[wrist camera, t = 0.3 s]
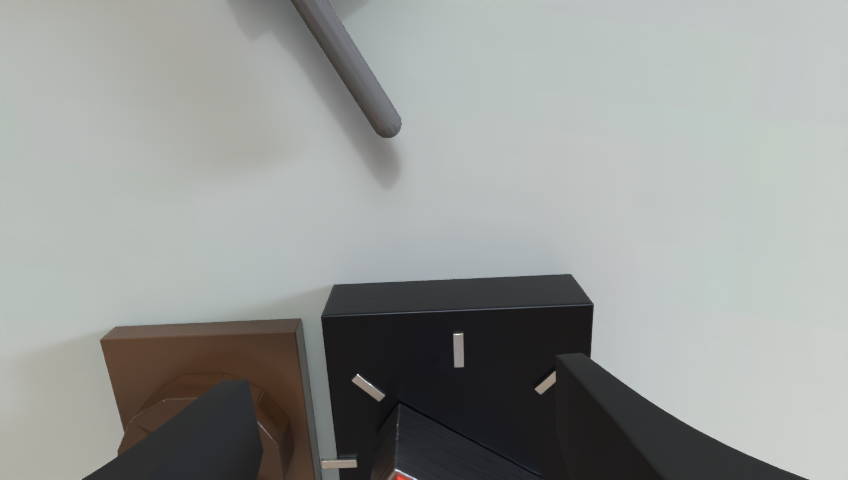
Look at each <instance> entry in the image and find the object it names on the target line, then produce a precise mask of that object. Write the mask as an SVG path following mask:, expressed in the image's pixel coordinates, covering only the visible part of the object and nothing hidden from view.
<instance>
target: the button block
mask: <svg viewBox="0 0 848 480" xmlns="http://www.w3.org/2000/svg"><path fill="white" fill-rule="evenodd" d="M100 342H101V346H102V350H103V354H104V357H105V361H106V365H107V369H108V372H109V376H110V380H111V384H112V388H113V391H114V395H115V399H116V403H117V407H118V410H119V414H120V418H121V422H122V425H123V429H124V433H125V434H124V437H123V439H122V442H121V444H120V446H119V449H118V456H119V455H121V454H122V453H123V452H125V451H126V450H128V449H129V448H131V447H132V446H134V445H135V444H136V443H138V442H139V441H141V440H142V439H144V438H145V437H146V436H148V435H149V434H151V433H152V432H153V431H155V430H156V429H158V428H159V427H160V426H161V425H163V424H164V423H165V422H167V421H168V420H169V419H171V418H172V417H173V416H175V415H176V414H177V413H179V412H180V411H181V410H183V409H184V408H185V407H187V406H188V405H189V404H191V403H192V402H193V401H195V400H196V399H197V398H199V397H200V396H201V395H203V394H204V393H205V392H207V391H208V390H209V389H211V388H212V387H214V386H215V385H217V384H218V383H220V382H222V381H227V380H240V379H248V380H249V385H250V389H251V394H252V399H253V404H254V408H255V413H256V418H257V422H258V427H259V432H260V436H261V441H262V446H263V450H264V452H263V456H262V460H261V464H260V469H259V473H258V476H257V480H322V476H321V468H320V461H319V453H318V445H317V437H316V430H315V422H314V414H313V406H312V398H311V391H310V383H309V375H308V367H307V360H306V352H305V344H304V336H303V329H302V321H301V319H278V320H256V321H233V322H211V323H188V324H166V325H143V326H121V327H115V328H113V329H112V330H111V331H110V332H109V333H108V334H106V335H105V336H104V337H103V338H102V339H101V340H100Z"/></svg>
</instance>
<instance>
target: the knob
mask: <svg viewBox="0 0 848 480" xmlns="http://www.w3.org/2000/svg"><path fill="white" fill-rule="evenodd" d="M371 480H543V479H541V478H540V477H538V476H536V475H534V474H532V473H530V472H528V471H526V470H525V469H523V468H521V467H519V466H517V465H515V464H513V463H511V462H510V461H508V460H506V459H504V458H502V457H500V456H498V455H496V454H495V453H493V452H491V451H489V450H487V449H485V448H483V447H481V446H480V445H478V444H476V443H474V442H472V441H470V440H468V439H466V438H465V437H463V436H461V435H459V434H457V433H455V432H453V431H451V430H450V429H448V428H446V427H444V426H442V425H440V424H438V423H436V422H435V421H433V420H431V419H429V418H427V417H425V416H423V415H421V414H420V413H418V412H416V411H414V410H412V409H410V408H408V407H406V406H404V405H403V404H401V403H399V404H398V405H397V406H396V407H395V409H394V410H393V412H392V413H391V414H390V416H389V417H388V418H387V420H386V421H385V423H384V424H383V425H382V427H381V428H380V430H379V431H378V432H377V434H376V437H375V445H374V454H373V462H372V471H371Z"/></svg>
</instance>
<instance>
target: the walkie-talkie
mask: <svg viewBox="0 0 848 480" xmlns="http://www.w3.org/2000/svg"><path fill="white" fill-rule="evenodd" d="M291 1H292V3H293V5H294V6H295V8H296V9H297V11H298V12H299V14H300V15H301V17H302V19H303V20H304V22H305V23H306V25H307V26H308V28H309V29H310V31H311V32H312V34H313V36H314V37H315V39H316V40H317V42H318V43H319V45H320V46H321V48H322V50H323V51H324V53H325V54H326V56H327V57H328V59H329V60H330V62H331V63H332V65H333V67H334V68H335V70H336V71H337V73H338V74H339V76H340V77H341V79H342V80H343V82H344V84H345V85H346V87H347V88H348V90H349V91H350V93H351V94H352V96H353V98H354V99H355V101H356V102H357V104H358V105H359V107H360V108H361V110H362V111H363V113H364V115H365V116H366V118H367V119H368V121H369V122H370V124H371V125H372V127H373V129H374V130H375V132H376V133H377V134H378V135H380V136H381V137H383V138H392V137H394V136H395V135H397V134H398V133H399V131H400V129H401V125H402V122H401V118H400V116H399V114H398V113H397V111H396V109H395V108H394V106H393V105H392V103H391V101H390V100H389V98H388V97H387V95H386V93H385V92H384V90H383V89H382V87H381V85H380V84H379V82H378V81H377V79H376V77H375V76H374V74H373V73H372V71H371V69H370V68H369V66H368V65H367V63H366V61H365V60H364V58H363V57H362V55H361V53H360V52H359V50H358V48H357V47H356V45H355V44H354V42H353V40H352V39H351V37H350V36H349V34H348V32H347V31H346V29H345V28H344V26H343V24H342V23H341V21H340V20H339V18H338V16H337V15H336V13H335V12H334V10H333V8H332V7H331V5H330V4H329V2H328V0H291Z"/></svg>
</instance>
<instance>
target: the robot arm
mask: <svg viewBox="0 0 848 480" xmlns="http://www.w3.org/2000/svg"><path fill="white" fill-rule="evenodd" d="M555 360H556V431H557V435H558V439H559V442H560V446H561V449H562V453H563V456H564V460H565V463H566V466H567V470H568V472H569V474H570V477H571V479H572V480H808V479H806V478H803V477H800V476H798V475H795V474H792V473H790V472H787V471H785V470H782V469H779V468H777V467H775V466H772V465H770V464H768V463H765V462H763V461H761V460H758V459H756V458H754V457H751V456H749V455H747V454H744V453H742V452H740V451H738V450H736V449H734V448H731V447H729V446H727V445H725V444H723V443H721V442H719V441H717V440H716V439H714V438H712V437H710V436H708V435H706V434H704V433H702V432H700V431H698V430H696V429H694V428H693V427H691V426H689V425H687V424H686V423H684V422H682V421H680V420H679V419H677V418H676V417H674V416H672V415H671V414H669V413H667V412H666V411H664V410H662V409H661V408H659V407H658V406H656V405H655V404H653V403H652V402H650V401H648V400H647V399H645V398H644V397H642V396H641V395H640V394H638V393H637V392H635V391H634V390H632V389H631V388H630V387H628V386H627V385H625V384H624V383H623V382H621V381H620V380H618V379H617V378H616V377H614V376H613V375H612V374H610V373H609V372H607V371H606V370H605V369H603V368H602V367H601V366H599V365H598V364H597V363H595V362H594V361H593V360H591V359H590V358H589V357H587V356H586V355H584V354H583V353H575V354H562V355H555ZM263 452H264V450H263V446H262V441H261V436H260V432H259V427H258V422H257V418H256V413H255V408H254V404H253V399H252V394H251V389H250V385H249V380H248V379H240V380H227V381H222V382H220V383H218V384H217V385H215V386H214V387H212V388H211V389H209V390H208V391H207V392H205V393H204V394H203V395H201V396H200V397H199V398H197V399H196V400H195V401H193V402H192V403H191V404H189V405H188V406H187V407H185V408H184V409H183V410H181V411H180V412H179V413H177V414H176V415H175V416H173V417H172V418H171V419H169V420H168V421H167V422H165V423H164V424H163V425H161V426H160V427H159V428H158V429H156V430H155V431H153V432H152V433H151V434H149V435H148V436H146V437H145V438H144V439H142V440H141V441H139V442H138V443H136V444H135V445H134V446H132V447H131V448H129V449H128V450H126V451H125V452H123V453H122V454H121V455H119V456H118V457H116V458H115V459H113V460H112V461H110V462H109V463H107V464H106V465H104V466H103V467H101V468H100V469H98V470H96V471H95V472H93V473H92V474H90V475H89V476H87V477H85V478H84V479H82V480H257V476H258V473H259V469H260V464H261V460H262V456H263Z"/></svg>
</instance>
